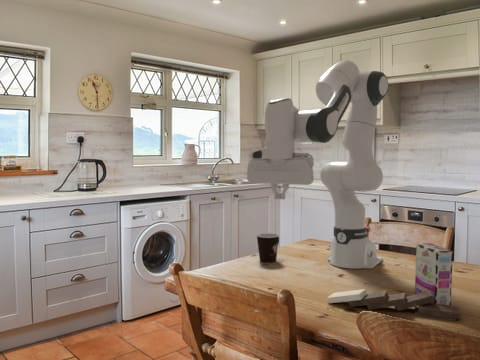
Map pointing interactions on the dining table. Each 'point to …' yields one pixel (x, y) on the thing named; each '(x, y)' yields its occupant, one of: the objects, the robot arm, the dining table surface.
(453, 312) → the domino
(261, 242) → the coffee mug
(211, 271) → the dining table surface
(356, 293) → the ivory domino
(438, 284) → the candy bar box
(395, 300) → the domino
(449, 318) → the domino
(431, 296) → the domino
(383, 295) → the domino
